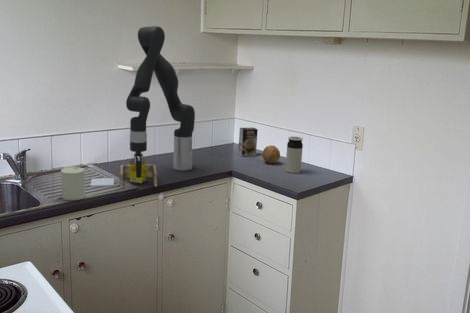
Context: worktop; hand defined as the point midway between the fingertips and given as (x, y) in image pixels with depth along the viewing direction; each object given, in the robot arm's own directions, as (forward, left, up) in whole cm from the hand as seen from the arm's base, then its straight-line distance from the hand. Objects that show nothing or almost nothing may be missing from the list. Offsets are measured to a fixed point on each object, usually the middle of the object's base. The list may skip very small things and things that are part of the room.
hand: (138, 174), depth 223 cm
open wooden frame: (0, 0, -3) cm, 3 cm away
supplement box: (0, 0, -4) cm, 4 cm away
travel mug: (-80, -13, -4) cm, 81 cm away
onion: (-73, -30, -4) cm, 79 cm away
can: (+27, +18, -4) cm, 33 cm away
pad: (+16, 0, -3) cm, 16 cm away
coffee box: (-64, -48, -4) cm, 80 cm away
